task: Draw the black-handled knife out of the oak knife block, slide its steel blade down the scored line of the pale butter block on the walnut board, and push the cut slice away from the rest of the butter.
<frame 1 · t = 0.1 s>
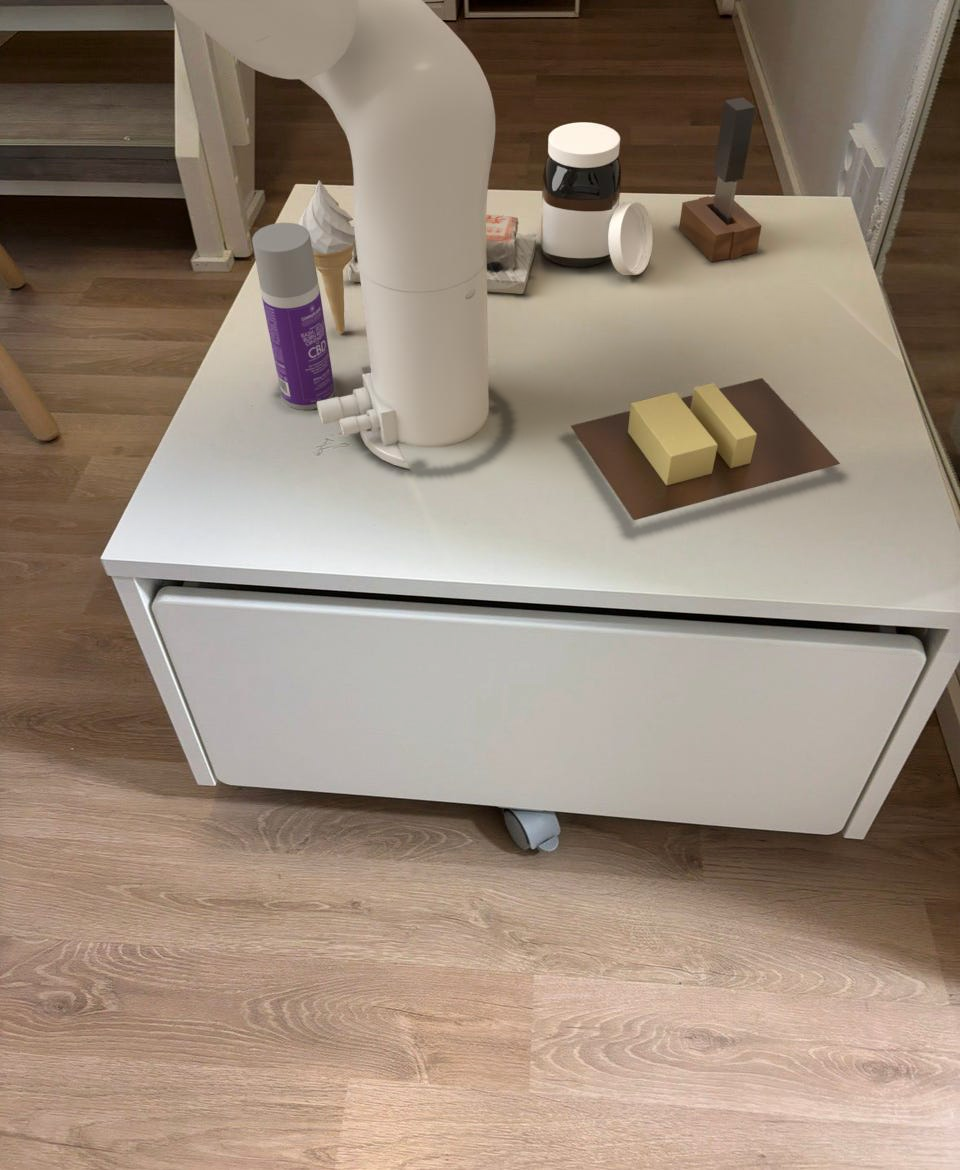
container: (308, 395, 91), on the table
packaged product: (444, 266, 105), on the table
ice cream cone: (340, 335, 97), on the table
knife: (727, 175, 101), in the knife block
spread jar: (594, 257, 105), on the table
butter block: (668, 452, 82), point 1 cm above the table, touching board
board: (699, 458, 84), on the table
butter slice: (718, 439, 83), point 1 cm above the table, touching board
knife block: (717, 240, 107), on the table
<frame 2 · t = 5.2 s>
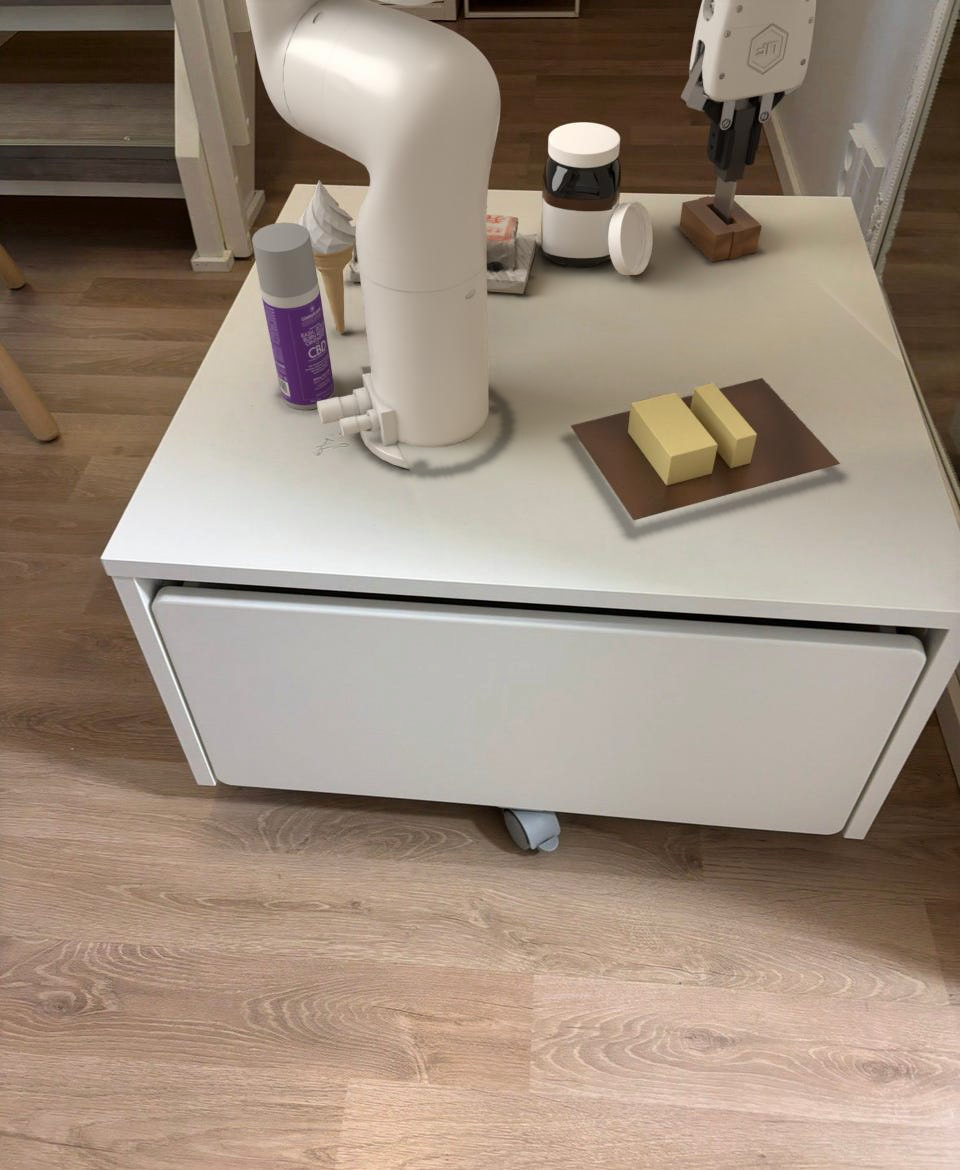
hand: (730, 160, 100), 9 cm above the table, tool pointing down, fingers closed on knife, 2 cm apart
knife: (727, 175, 101), in the knife block, touching gripper
everything else where it was.
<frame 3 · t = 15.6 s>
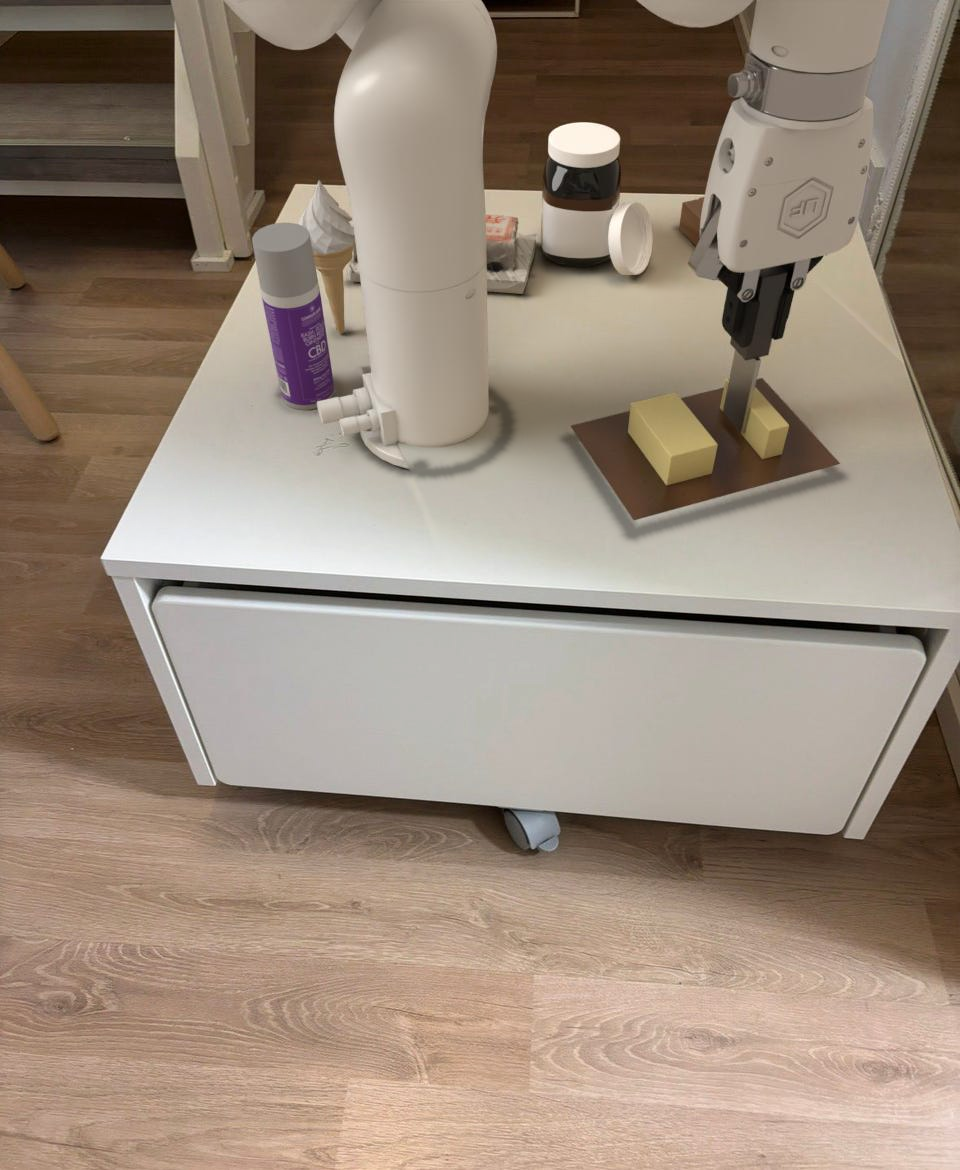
hand: (752, 332, 77), 11 cm above the table, tool pointing down, fingers closed on knife, 2 cm apart
knife: (749, 349, 78), point 9 cm above the table, touching gripper
butter slice: (749, 431, 84), point 1 cm above the table, touching board
everything else where it was.
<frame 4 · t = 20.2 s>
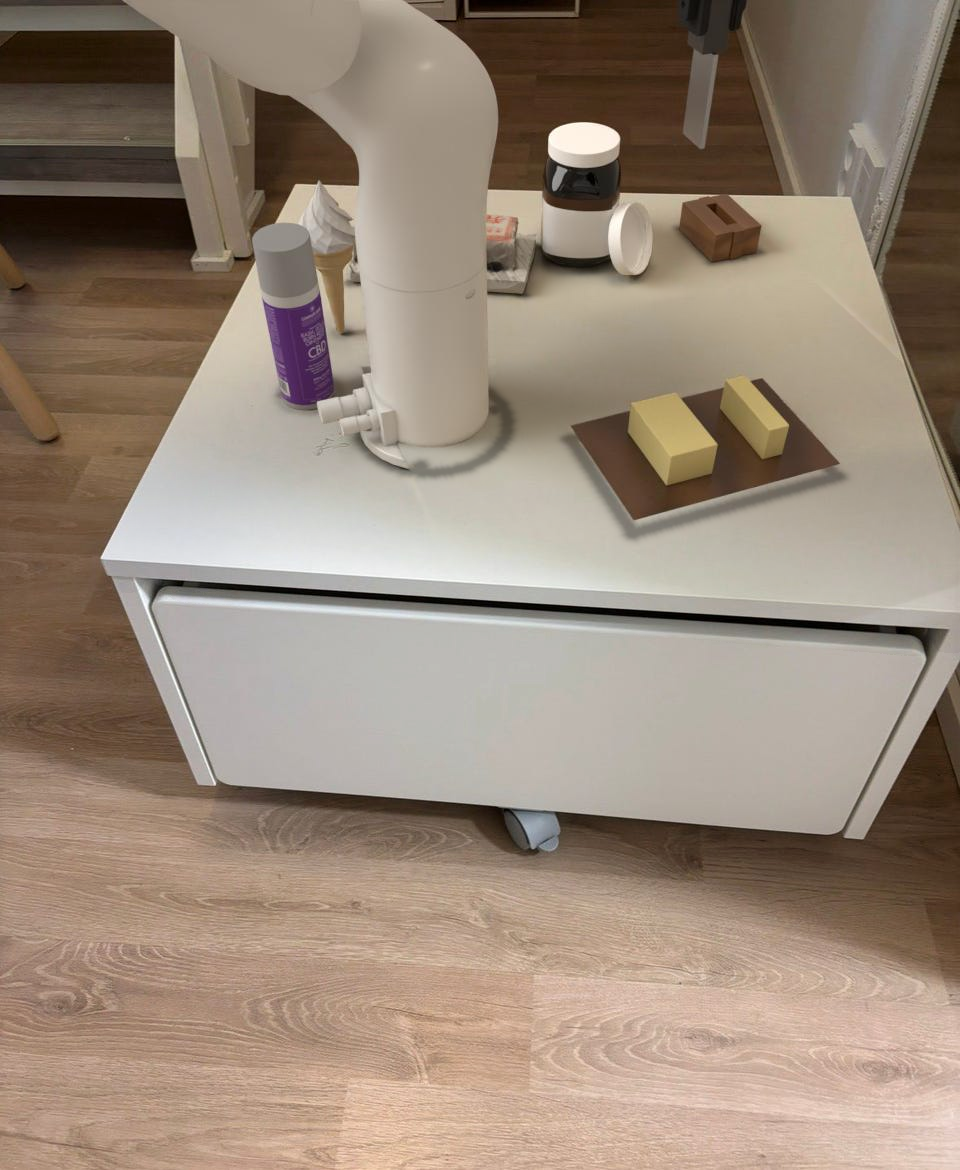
hand: (709, 24, 75), 27 cm above the table, tool pointing down, fingers closed on knife, 2 cm apart
knife: (706, 47, 76), point 26 cm above the table, touching gripper
everything else where it was.
at the end: butter slice moved 2.9 cm from its start; butter slice inside the target area on the board (4.4 cm from its centre), point 1.5 cm above the board's base; the gripper is holding knife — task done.
